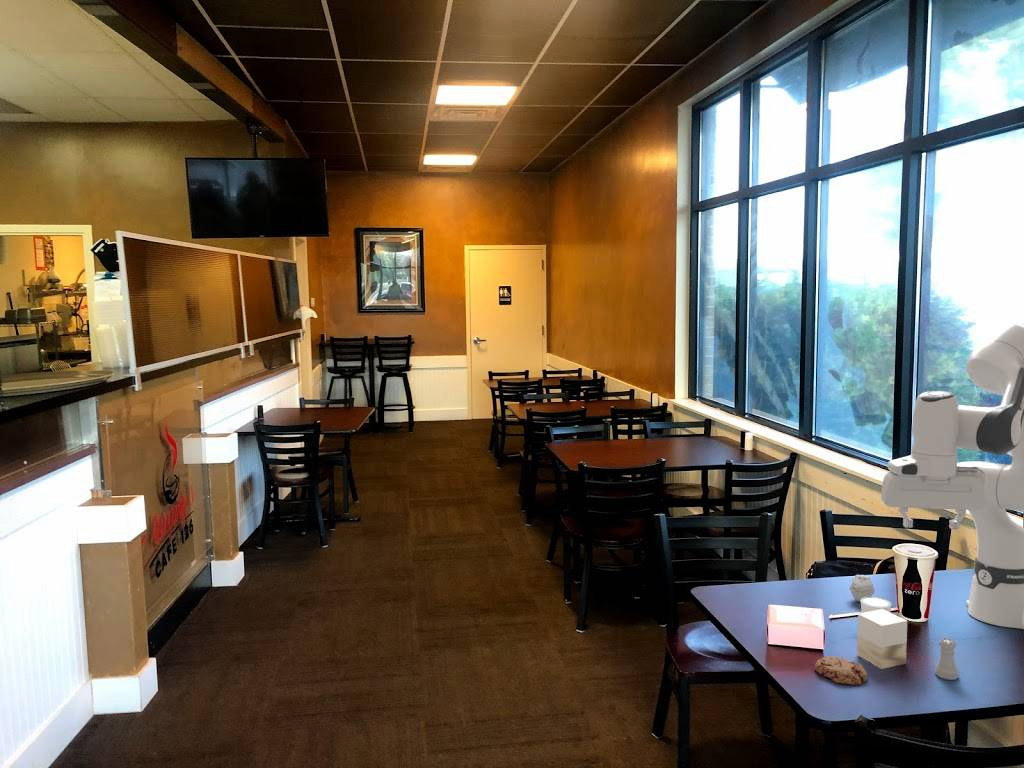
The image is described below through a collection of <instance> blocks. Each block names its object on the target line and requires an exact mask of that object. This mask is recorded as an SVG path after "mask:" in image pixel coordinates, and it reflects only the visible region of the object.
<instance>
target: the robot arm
mask: <svg viewBox="0 0 1024 768" xmlns="http://www.w3.org/2000/svg"><path fill="white" fill-rule="evenodd" d="M966 372H967V375H968V377H969V379H970V380H971V382H972V383H973V384H974V385H975V386H976V387H978V388H979V389H980V390H982V391H984V392H986V393H990V394H995V395H997V396H998V395H999V396H1002V398H1001V401H1000V404H999V405H998V406H997V405H996V406H975V405H964V404H959V403H958V399H957V395H956V394H955V393H953V392H950V391H946V390H933V391H932V390H930V391H925V392H922V393H921V394H918V396H917V397H916V400H915V403H914V409H913V415H912V427H911V430H912V431H911V433H912V436H913V443H912V446H911V449H910V450H911V452H910V455H907V456H903V457H899V458H896V459H891V460H890V461H888V462H887V465H886V466H887V469H888V470H889V471H888V472H887V473H885V475H884V478H883V481H882V485H881V494H880V495H881V496H880V499H881V501H882V503H883V504H884V505H885V506H887V507H888V508H897V511H898V512H899V514H900V515H901V518H903V520H902V522H903V523H902V525H903V527H904V528H912V529H913V528H914V520H913V519H912V518H910V517H908V515H907V514H906V513H909V508H910V509H911V508H912V509H933V510H935V509H936V510H954V512H956V515H955V516H954V518H953V519H949V521H948V522H949V525H948V527H949V529H951V530H960V528H961V527H960V526H961V523H960V522H962V521H963V519H964V518H965V517H966V516H967V511H968V513H969V515H970V516H971V518H972V520H973V523H974V525H975V527H974V528H975V531H976V547H977V549H976V557H975V558H974V563H973V566H974V575H973V576H972V580H971V586H970V591H969V593H970V594H969V599H966V602H965V603H966V604H965V605H966V606H967V613H968V614H969V616H970V617H973V618H974V619H976V620H979V621H981V622H983V623H987V624H990V625H994V626H998V627H1003V628H1005V627H1006V628H1012V629H1014V628H1015V629H1022V630H1024V527H1023V526H1021V524H1020V525H1019V524H1018V523H1017V522H1016V521H1014V520H1013V519H1011V517H1010V516H1009V515H1008V513H1007V510H1009V511H1016V512H1020V513H1024V327H1023V326H1020V325H1018V324H1011V323H1006V324H1002V325H999V326H997V327H995V328H993V329H992V330H991V331H990V332H988V334H986V335H985V336H984V337H983V339H981V341H980V342H979V343H978V344H977V345H976V346H975V348H974V350H973V351H972V352H971V354H970V355H969V357H968V359H967V363H966ZM958 449H962V450H971V451H972V450H973V451H979V452H983V453H988V454H993V455H994V454H995V455H999V456H1003V455H1005V454H1007V455H1009V456H1011V457H1012V459H1011V463H1010V464H1004V463H996V462H989V461H981V460H974V461H973V460H971V461H960V462H958Z"/></svg>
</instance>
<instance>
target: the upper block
mask: <svg viewBox="0 0 1024 768" xmlns="http://www.w3.org/2000/svg"><path fill="white" fill-rule="evenodd" d="M857 636H860V637H862V638H864V639H866V640H868V641H870V642H872V643H874V644H876V645H877V646H879V647H881V648H883V647H888V646H892V645H897V644H902V643H906V642H908V638H907V637H908V620H907V619H905V618H903V617H900V616H898V615H896V614H894V613H892V612H891V611H890V612H887V611H885V610H883V609H880V610H875V611H870V612H865V613H862V612H861V613H858V614H857ZM906 644H907V643H906Z"/></svg>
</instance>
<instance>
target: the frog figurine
mask: <svg viewBox="0 0 1024 768" xmlns="http://www.w3.org/2000/svg"><path fill="white" fill-rule="evenodd" d="M852 579H853V580H852V581H851V584H850V585H849V590H850V592H851V595H852V597H853V599H854V600H855V601H857V602H859V603H861V599H862V598H865V597H873V595H874V594H875V587H874V582H872V581H871V576H868V575H867V576H866V575H864V574H855V576H854V578H852Z"/></svg>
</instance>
